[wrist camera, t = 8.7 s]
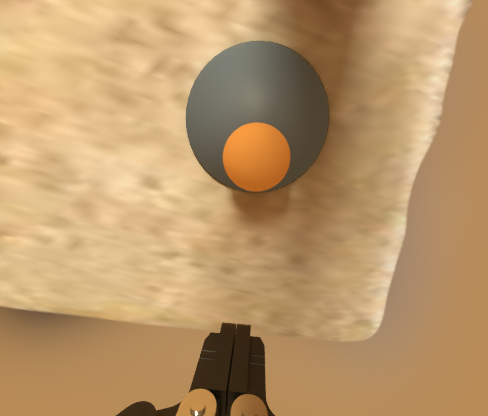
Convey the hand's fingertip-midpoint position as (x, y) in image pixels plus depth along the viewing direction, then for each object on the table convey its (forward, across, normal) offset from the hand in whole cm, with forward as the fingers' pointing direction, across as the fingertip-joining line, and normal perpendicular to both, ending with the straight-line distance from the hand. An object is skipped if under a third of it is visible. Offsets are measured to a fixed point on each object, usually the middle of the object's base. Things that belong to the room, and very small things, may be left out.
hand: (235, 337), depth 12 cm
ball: (+11, 0, -9) cm, 14 cm away
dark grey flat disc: (+14, 0, -13) cm, 19 cm away
